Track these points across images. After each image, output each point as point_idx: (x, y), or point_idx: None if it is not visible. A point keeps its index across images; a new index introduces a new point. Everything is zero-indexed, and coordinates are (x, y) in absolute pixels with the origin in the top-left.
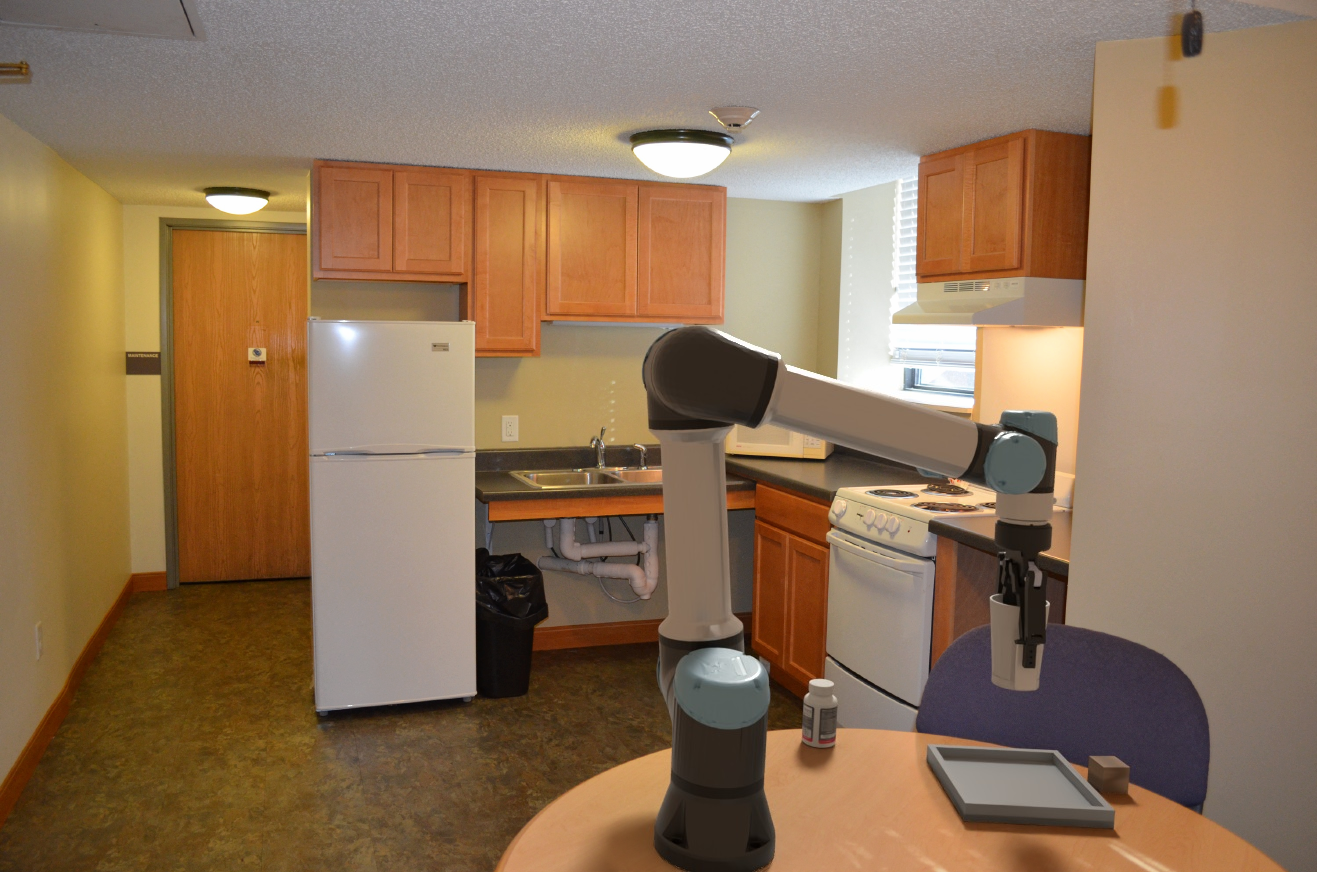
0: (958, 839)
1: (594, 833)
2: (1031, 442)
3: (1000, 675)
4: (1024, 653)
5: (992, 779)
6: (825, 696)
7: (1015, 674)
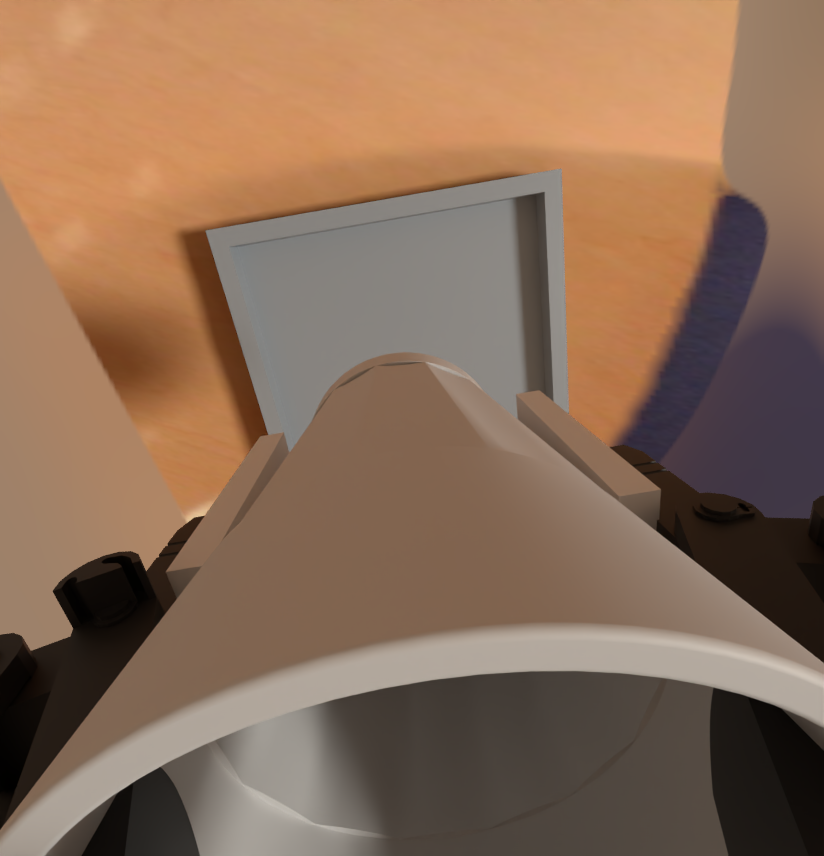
0: (121, 206)
1: None
2: None
3: (333, 391)
4: (169, 565)
5: (428, 325)
6: None
7: (260, 460)
